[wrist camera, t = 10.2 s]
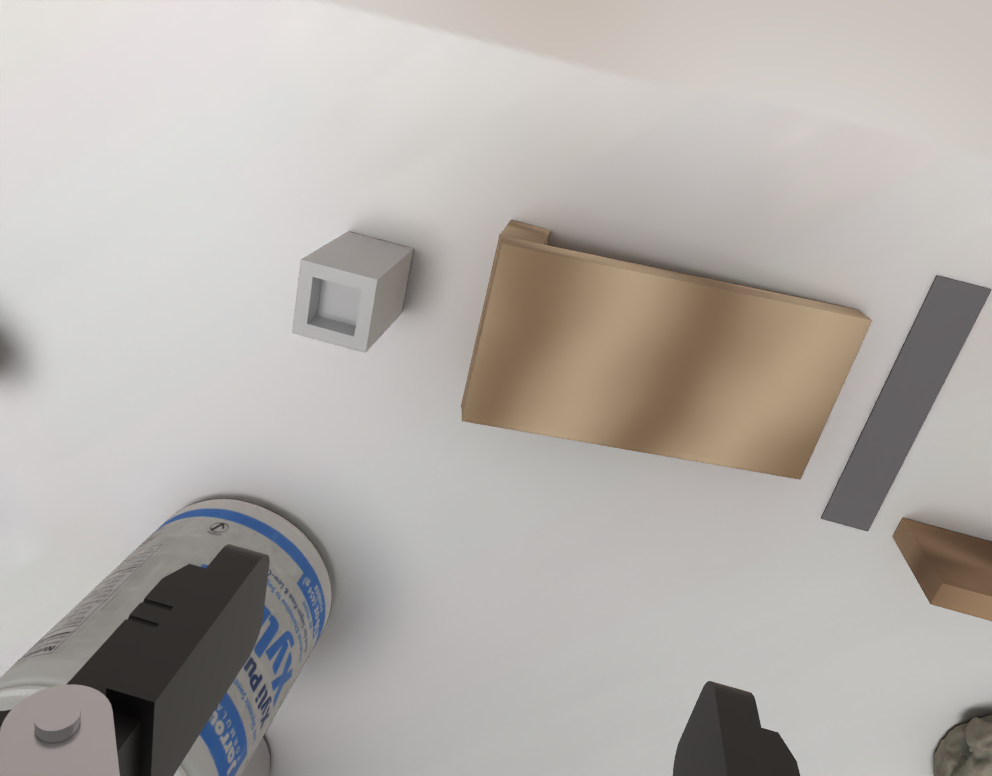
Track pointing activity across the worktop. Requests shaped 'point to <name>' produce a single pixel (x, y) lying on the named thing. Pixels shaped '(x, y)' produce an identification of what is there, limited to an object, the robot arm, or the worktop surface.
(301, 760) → the worktop surface
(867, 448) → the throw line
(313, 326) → the hollow grey box
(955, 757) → the long grey stone
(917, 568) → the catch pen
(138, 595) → the supplement tub
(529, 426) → the ramp
